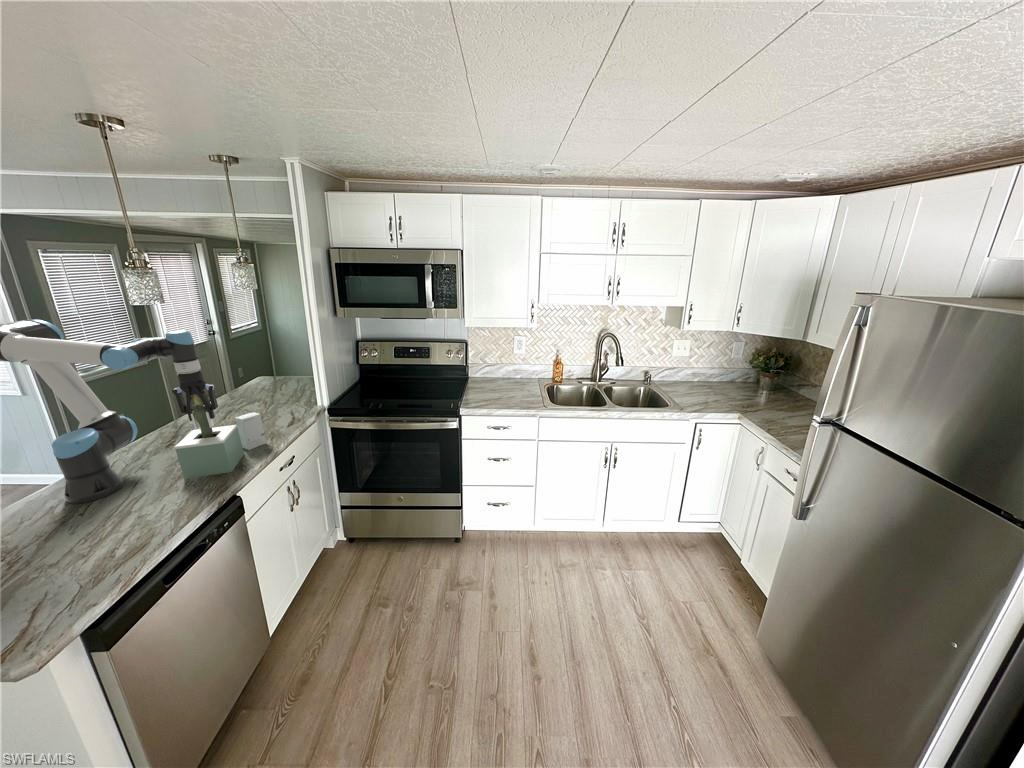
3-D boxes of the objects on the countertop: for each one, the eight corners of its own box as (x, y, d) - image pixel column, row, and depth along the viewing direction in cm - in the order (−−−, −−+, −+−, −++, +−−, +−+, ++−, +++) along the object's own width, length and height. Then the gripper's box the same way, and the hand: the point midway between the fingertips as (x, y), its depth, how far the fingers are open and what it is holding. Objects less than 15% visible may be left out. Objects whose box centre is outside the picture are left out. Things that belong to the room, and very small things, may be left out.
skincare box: (248, 450, 178) (241, 420, 174) (241, 447, 181) (233, 417, 176) (267, 443, 185) (260, 413, 180) (260, 440, 188) (253, 411, 183)
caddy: (184, 478, 156) (174, 446, 152) (201, 459, 171) (192, 430, 167) (231, 472, 161) (222, 440, 156) (244, 453, 175) (236, 424, 171)
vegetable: (218, 439, 164) (205, 393, 158) (210, 444, 160) (197, 397, 154) (207, 439, 164) (194, 394, 158) (199, 444, 160) (186, 397, 154)
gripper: (156, 376, 147) (174, 433, 155) (211, 371, 152) (226, 427, 159) (166, 370, 154) (183, 426, 161) (219, 366, 159) (232, 420, 166)
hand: (204, 426), depth 160 cm, fingers closed on vegetable, 4 cm apart
